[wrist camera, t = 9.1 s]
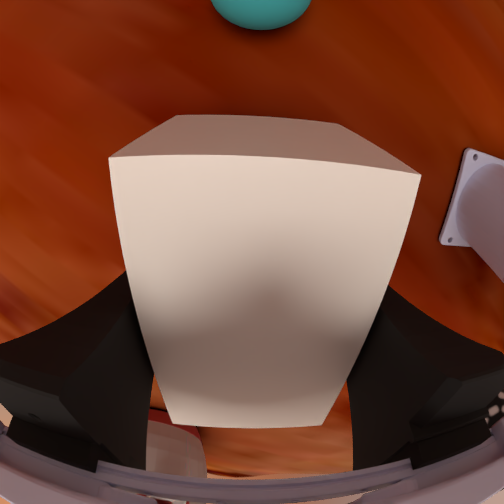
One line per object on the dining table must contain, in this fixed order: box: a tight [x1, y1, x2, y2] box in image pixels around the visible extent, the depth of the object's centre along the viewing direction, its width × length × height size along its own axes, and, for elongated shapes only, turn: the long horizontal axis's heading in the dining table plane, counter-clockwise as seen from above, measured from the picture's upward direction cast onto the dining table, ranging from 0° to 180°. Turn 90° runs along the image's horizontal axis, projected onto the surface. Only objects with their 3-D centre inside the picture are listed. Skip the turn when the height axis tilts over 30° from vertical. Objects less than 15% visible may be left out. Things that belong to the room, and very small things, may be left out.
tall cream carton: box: [109, 115, 421, 428], centre depth 10 cm, size 6×10×6 cm, turn 177°
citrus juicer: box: [127, 409, 207, 504], centre depth 28 cm, size 16×17×20 cm
